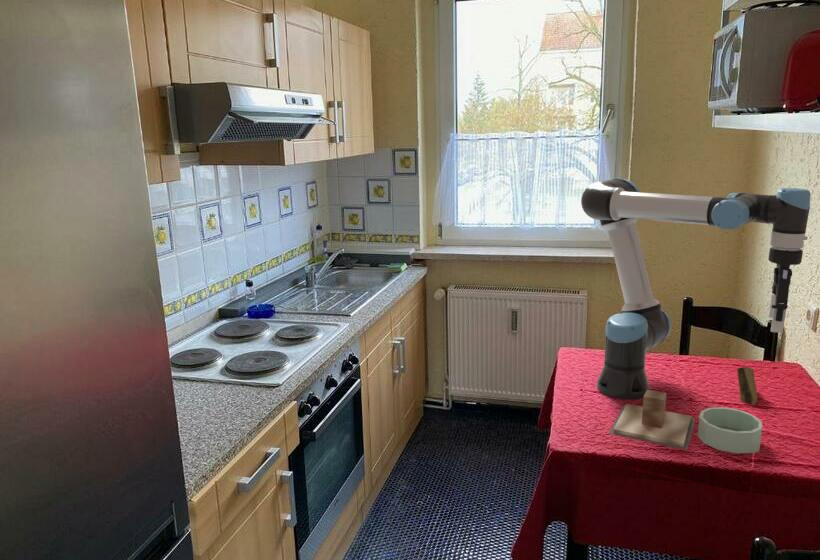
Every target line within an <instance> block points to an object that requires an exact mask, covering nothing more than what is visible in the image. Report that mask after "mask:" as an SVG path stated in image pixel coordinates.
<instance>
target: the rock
mask: <svg viewBox="0 0 820 560" xmlns="http://www.w3.org/2000/svg"><path fill="white" fill-rule="evenodd" d="M736 372H737V379H738V385H739V388H738V389H739V399H740V401H741V402H744V403H746V404H748V405H752V406H756V404H757V402H758V399H759V398H758V397H759V396H758V393H757V392H758V390H757V386H756V379H755V371H754V369H753V368H751V367H749V366H742V367H738V368H737V369H736Z"/></svg>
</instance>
